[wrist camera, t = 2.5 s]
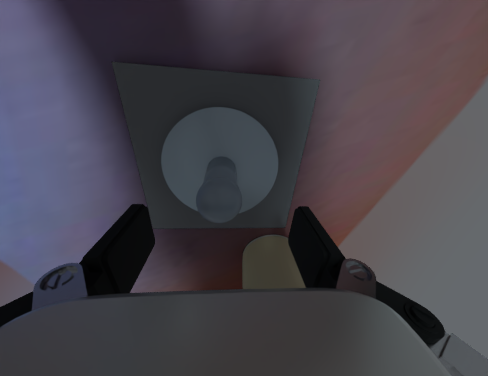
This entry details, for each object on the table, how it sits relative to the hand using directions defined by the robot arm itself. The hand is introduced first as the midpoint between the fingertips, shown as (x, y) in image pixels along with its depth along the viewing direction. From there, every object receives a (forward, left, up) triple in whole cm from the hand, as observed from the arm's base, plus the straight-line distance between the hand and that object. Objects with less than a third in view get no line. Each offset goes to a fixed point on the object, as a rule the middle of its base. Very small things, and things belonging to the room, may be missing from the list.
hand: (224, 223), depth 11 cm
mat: (-1, 0, -8) cm, 8 cm away
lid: (-1, 0, -8) cm, 8 cm away
